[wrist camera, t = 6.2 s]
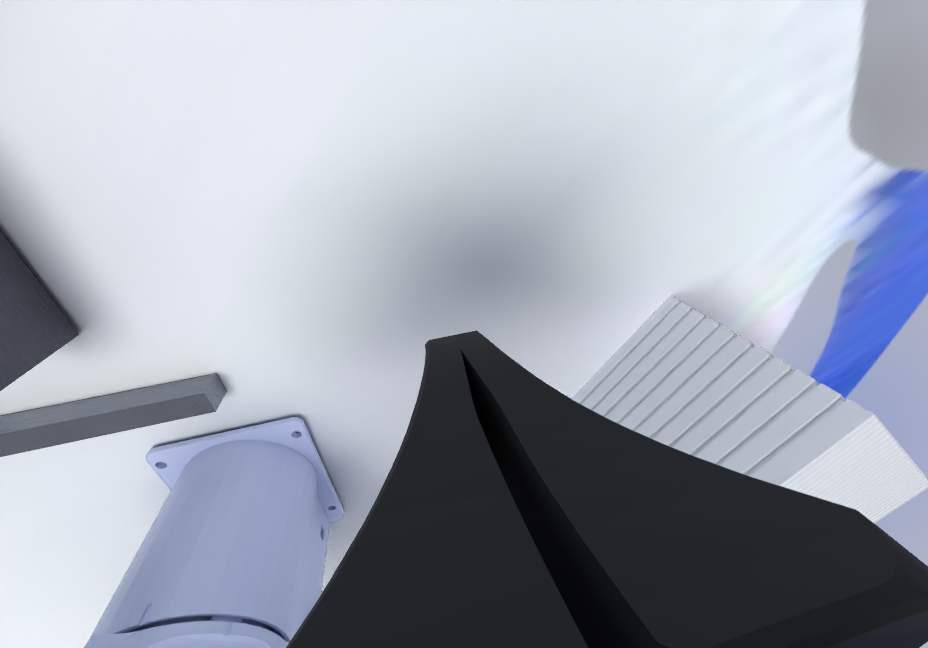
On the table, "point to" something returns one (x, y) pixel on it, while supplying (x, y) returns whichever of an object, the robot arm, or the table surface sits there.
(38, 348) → the vise jaw
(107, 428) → the vise
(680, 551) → the robot arm
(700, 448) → the white ridged block
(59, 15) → the table surface
